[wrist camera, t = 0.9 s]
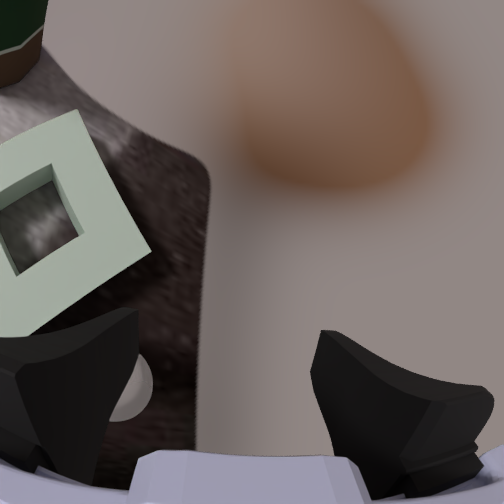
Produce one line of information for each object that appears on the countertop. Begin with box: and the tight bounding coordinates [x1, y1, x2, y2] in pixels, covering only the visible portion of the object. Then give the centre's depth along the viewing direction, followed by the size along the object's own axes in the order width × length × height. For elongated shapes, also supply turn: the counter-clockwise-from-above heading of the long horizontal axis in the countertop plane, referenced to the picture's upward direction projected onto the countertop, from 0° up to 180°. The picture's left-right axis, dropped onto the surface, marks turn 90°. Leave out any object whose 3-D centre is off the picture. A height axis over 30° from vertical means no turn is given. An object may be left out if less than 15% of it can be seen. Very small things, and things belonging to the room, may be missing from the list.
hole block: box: [0, 109, 152, 337], centre depth 16 cm, size 12×12×3 cm
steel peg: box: [109, 354, 153, 421], centre depth 15 cm, size 4×4×8 cm
